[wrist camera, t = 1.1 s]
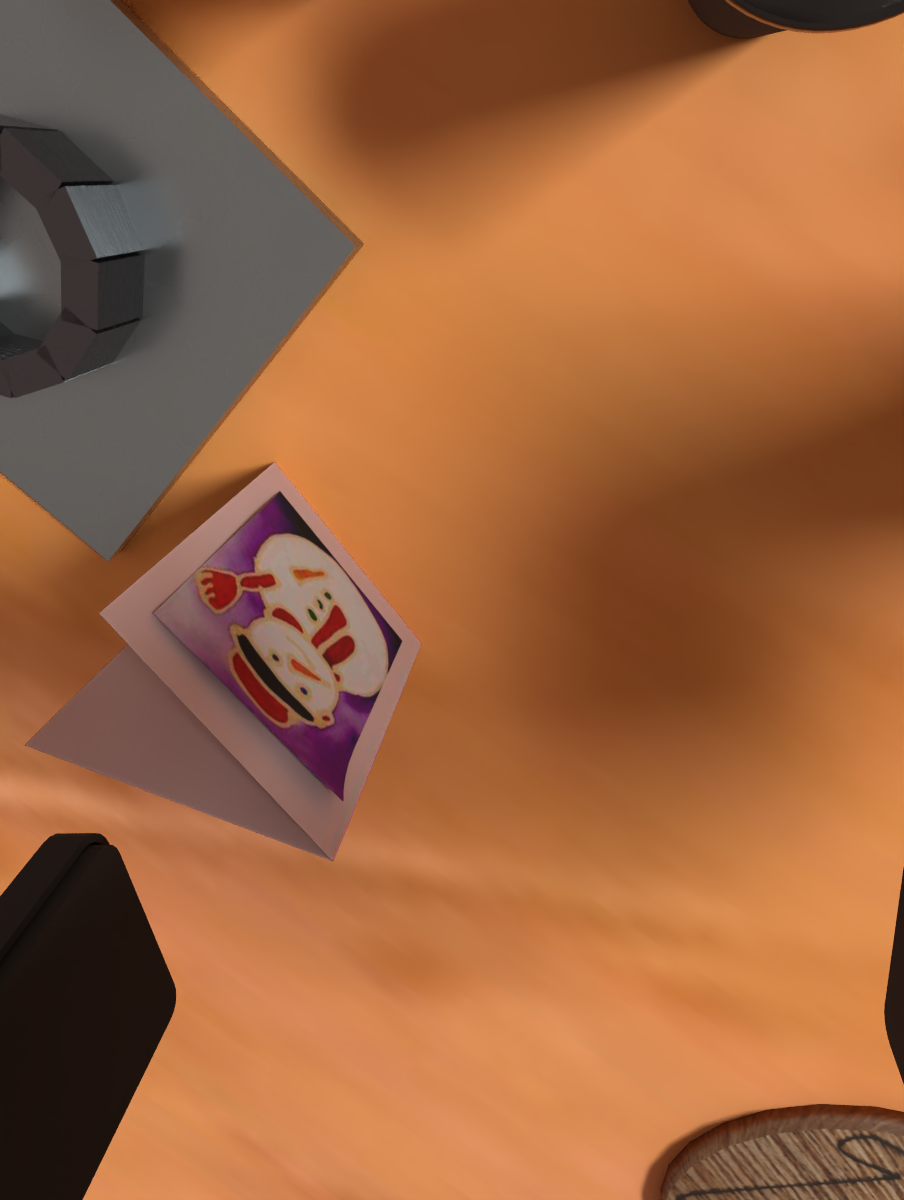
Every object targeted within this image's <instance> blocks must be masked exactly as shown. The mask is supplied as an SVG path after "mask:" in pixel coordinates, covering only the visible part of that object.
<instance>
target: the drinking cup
mask: <svg viewBox="0 0 904 1200" xmlns="http://www.w3.org/2000/svg"><path fill="white" fill-rule="evenodd" d="M689 3H690V4H691V6H692V8H693V10H694V11H695V13H696V14H697V15H698V17H699V18H700V19H701V20H702V21H703V22H704V23H705V24H706V25H707V26H709V27H710V28H711V29H713V30H715V31H717V32H719V33H721V34H723V35H726V36H730V37H735V38H752V37H758V36H763V35H767V34H772V33H776V32H781V31H785V30H790V31H795V32H805V33H835V32H842V31H850V30H855V29H859V28H863V27H867V26H871V25H874V24H877V23H880V22H883V21H886V20H888V19H891V18H894V17H896V16H898V15H900V14H902V13H904V0H689Z"/></svg>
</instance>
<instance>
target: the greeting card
mask: <svg viewBox="0 0 904 1200" xmlns="http://www.w3.org/2000/svg"><path fill="white" fill-rule="evenodd" d="M99 614H100V615H101V616H102V617H103V618H104V619H105V620H106V621H107V622H108V623H109V625H110V626H111V627H112V628H113V629H114V630H115V631H116V632H117V633H118V634H119V635H120V636H121V637H122V638H123V639H124V640H125V641H126V643H127V645H126V646H125V647H124V648H123V649H122V650H121V651H120V652H119V653H118V654H117V655H116V656H115V657H114V658H113V659H112V660H111V661H110V662H109V663H108V664H107V665H106V666H105V667H104V668H103V669H102V670H101V671H100V672H99V673H98V674H97V675H96V676H95V677H94V678H93V679H92V680H91V681H90V682H89V683H87V684H86V685H85V686H84V687H83V688H82V689H81V690H80V691H79V692H78V693H77V694H76V695H75V696H74V697H73V698H72V699H71V700H70V701H69V702H68V703H67V704H66V705H65V706H64V707H63V708H62V709H61V710H60V711H59V712H58V713H57V714H56V715H55V716H54V717H53V718H52V719H51V720H50V721H49V722H48V723H47V724H46V725H44V726H43V727H42V728H41V729H40V730H39V731H38V732H37V733H36V734H35V735H34V736H33V737H32V738H31V739H30V740H29V741H28V742H27V743H26V744H25V746H28V747H31V748H33V749H36V750H39V751H41V752H44V753H47V754H49V755H52V756H55V757H57V758H60V759H63V760H65V761H68V762H71V763H73V764H76V765H79V766H81V767H84V768H87V769H89V770H92V771H94V772H97V773H100V774H102V775H105V776H108V777H110V778H113V779H116V780H118V781H121V782H124V783H126V784H129V785H132V786H134V787H137V788H140V789H142V790H145V791H148V792H150V793H153V794H156V795H158V796H161V797H163V798H166V799H169V800H171V801H174V802H177V803H179V804H182V805H185V806H187V807H190V808H193V809H195V810H198V811H201V812H203V813H206V814H209V815H211V816H214V817H217V818H219V819H222V820H224V821H227V822H230V823H232V824H235V825H238V826H240V827H243V828H246V829H248V830H251V831H254V832H256V833H259V834H262V835H264V836H267V837H270V838H272V839H275V840H278V841H280V842H283V843H286V844H288V845H291V846H293V847H296V848H299V849H301V850H304V851H307V852H309V853H312V854H315V855H317V856H320V857H323V858H325V859H328V860H331V861H334V858H335V856H336V853H337V851H338V848H339V846H340V844H341V841H342V839H343V836H344V834H345V831H346V829H347V826H348V824H349V821H350V819H351V816H352V814H353V811H354V809H355V807H356V804H357V802H358V799H359V797H360V794H361V792H362V789H363V787H364V784H365V782H366V779H367V777H368V774H369V772H370V769H371V767H372V765H373V762H374V760H375V757H376V755H377V752H378V750H379V747H380V745H381V742H382V740H383V737H384V735H385V732H386V730H387V727H388V725H389V723H390V720H391V718H392V715H393V713H394V710H395V708H396V705H397V703H398V700H399V698H400V695H401V693H402V690H403V688H404V685H405V683H406V681H407V678H408V676H409V673H410V671H411V668H412V666H413V663H414V661H415V658H416V656H417V653H418V651H419V648H420V646H421V642H420V641H419V640H418V639H417V637H416V636H415V635H414V634H413V632H412V631H411V630H410V629H409V627H408V626H407V625H406V624H405V622H404V621H403V620H402V619H401V618H400V616H399V615H398V614H397V613H396V611H395V610H394V609H393V608H392V606H391V605H390V604H389V603H388V601H387V600H386V599H385V598H384V596H383V595H382V594H381V593H380V592H379V590H378V589H377V588H376V587H375V585H374V584H373V583H372V582H371V580H370V579H369V578H368V577H367V575H366V574H365V573H364V572H363V571H362V569H361V568H360V567H359V566H358V564H357V563H356V562H355V561H354V559H353V558H352V557H351V556H350V554H349V553H348V552H347V551H346V550H345V548H344V547H343V546H342V545H341V543H340V542H339V541H338V540H337V538H336V537H335V536H334V535H333V533H332V532H331V531H330V530H329V529H328V527H327V526H326V525H325V524H324V522H323V521H322V520H321V519H320V517H319V516H318V515H317V514H316V512H315V511H314V510H313V509H312V507H311V506H310V505H309V504H308V503H307V501H306V500H305V499H304V498H303V496H302V495H301V494H300V493H299V491H298V490H297V489H296V488H295V486H294V485H293V484H292V483H291V482H290V480H289V479H288V478H287V477H286V475H285V474H284V473H283V472H282V470H281V469H280V468H279V467H278V465H277V464H276V463H275V462H274V463H273V464H272V465H270V466H269V467H268V468H267V469H266V470H265V471H263V472H262V473H261V474H260V475H259V476H258V477H256V478H255V479H254V480H253V481H252V482H251V483H249V484H248V485H247V486H246V487H245V488H244V489H243V490H241V491H240V492H239V493H238V494H237V495H236V496H234V497H233V498H232V499H231V500H230V501H229V502H227V503H226V504H225V505H224V506H223V507H222V508H220V509H219V510H218V511H217V512H216V513H215V514H213V515H212V516H211V517H210V518H209V519H208V520H207V521H205V522H204V523H203V524H202V525H201V526H200V527H198V528H197V529H196V530H195V531H194V532H193V533H191V534H190V535H189V536H188V537H187V538H186V539H184V540H183V541H182V542H181V543H180V544H179V545H177V546H176V547H175V548H174V549H173V550H172V551H171V552H169V553H168V554H167V555H166V556H165V557H164V558H162V559H161V560H160V561H159V562H158V563H157V564H155V565H154V566H153V567H152V568H151V569H150V570H148V571H147V572H146V573H145V574H144V575H143V576H141V577H140V578H139V579H138V580H137V581H136V582H135V583H133V584H132V585H131V586H130V587H129V588H128V589H126V590H125V591H124V592H123V593H122V594H121V595H119V596H118V597H117V598H116V599H115V600H114V601H112V602H111V603H110V604H109V605H108V606H107V607H105V608H104V609H103V610H102V611H101V612H100V613H99Z"/></svg>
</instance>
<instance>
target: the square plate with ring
mask: <svg viewBox="0 0 904 1200" xmlns="http://www.w3.org/2000/svg"><path fill="white" fill-rule="evenodd" d="M362 246H363V243H362V242H361V241H360V240H359V239H358V238H357V237H356V236H355V235H354V234H353V233H352V232H351V231H350V230H349V229H348V228H347V227H346V226H345V225H344V224H343V223H342V222H341V221H340V220H339V219H338V218H337V217H336V216H335V215H334V214H333V213H332V212H331V211H330V210H329V209H328V208H327V207H326V206H325V205H324V204H323V203H322V202H321V200H320V199H319V198H318V197H317V196H316V195H315V194H314V193H313V192H312V191H311V190H310V189H309V188H308V187H307V186H306V185H305V184H304V183H303V182H302V181H301V180H300V179H299V178H298V177H297V176H296V175H295V174H294V173H293V172H292V171H291V170H290V169H289V168H288V167H287V166H286V165H285V164H284V163H283V162H282V161H281V160H280V159H279V158H278V157H277V156H276V155H275V154H274V153H273V152H272V151H271V150H270V149H269V148H268V147H267V146H266V145H265V144H264V143H263V142H262V141H261V140H260V139H259V138H258V137H257V136H256V135H255V134H254V133H253V132H252V131H251V130H250V129H249V128H248V127H247V126H246V125H245V124H244V123H243V122H242V121H241V120H240V119H239V118H238V117H237V116H236V115H235V114H234V113H233V112H232V111H231V110H230V109H229V108H228V107H227V106H226V105H225V104H224V103H223V102H222V101H221V100H220V99H219V98H218V97H217V96H216V95H215V94H214V93H213V92H212V91H211V90H210V89H209V88H208V87H207V86H206V85H205V84H204V83H203V82H202V81H201V80H200V79H199V78H198V77H197V76H196V75H195V74H194V73H193V72H192V71H191V70H190V69H189V68H188V67H187V66H186V65H185V64H184V63H183V62H182V61H181V60H180V59H179V58H178V57H177V56H176V55H175V54H174V53H173V52H172V51H171V50H170V49H169V48H168V47H167V46H166V45H165V44H164V43H163V42H162V41H161V40H160V39H159V38H158V37H157V36H156V35H155V34H154V33H153V32H152V31H151V30H150V29H149V28H148V27H147V26H146V25H145V24H144V23H143V22H142V21H141V20H140V19H139V18H138V17H137V16H136V15H135V14H134V13H133V12H132V11H131V10H130V9H129V7H128V6H127V5H126V4H125V3H124V2H123V1H122V0H0V472H1V473H2V474H3V475H5V476H6V477H7V478H8V479H9V480H11V481H12V482H13V483H14V484H16V485H17V486H18V487H19V488H20V489H22V490H23V491H24V492H25V493H26V494H28V495H29V496H30V497H31V498H32V499H34V500H35V501H36V502H37V503H38V504H40V505H41V506H42V507H43V508H44V509H46V510H47V511H48V512H49V513H50V514H52V515H53V516H54V517H55V518H56V519H58V520H59V521H60V522H61V523H63V524H64V525H65V526H66V527H67V528H69V529H70V530H71V531H72V532H73V533H75V534H76V535H77V536H78V537H79V538H81V539H82V540H83V541H84V542H85V543H87V544H88V545H89V546H90V547H91V548H93V549H94V550H95V551H96V552H97V553H99V554H100V555H101V556H102V557H104V558H105V559H106V560H107V561H109V560H111V559H112V558H113V557H114V556H116V555H117V554H118V553H120V552H121V551H122V549H123V548H124V547H125V546H126V544H127V543H128V542H129V541H130V539H131V538H132V537H133V536H134V534H135V533H136V532H137V530H138V529H139V528H140V527H141V525H142V524H143V523H144V522H145V520H146V519H147V518H148V517H149V515H150V514H151V513H152V511H153V510H154V509H155V508H156V506H157V505H158V504H159V503H160V501H161V500H162V499H163V498H164V496H165V495H166V494H167V492H168V491H169V490H170V489H171V487H172V486H173V485H174V484H175V482H176V481H177V480H178V479H179V477H180V476H181V475H182V473H183V472H184V471H185V470H186V468H187V467H188V466H189V465H190V463H191V462H192V461H193V460H194V458H195V457H196V456H197V454H198V453H199V452H200V451H201V449H202V448H203V447H204V446H205V444H206V443H207V442H208V441H209V439H210V438H211V437H212V436H213V434H214V433H215V432H216V430H217V429H218V428H219V427H220V425H221V424H222V423H223V422H224V420H225V419H226V418H227V417H228V415H229V414H230V413H231V411H232V410H233V409H234V408H235V406H236V405H237V404H238V403H239V401H240V400H241V399H242V398H243V396H244V395H245V394H246V392H247V391H248V390H249V389H250V387H251V386H252V385H253V384H254V382H255V381H256V380H257V379H258V377H259V376H260V375H261V373H262V372H263V371H264V370H265V368H266V367H267V366H268V365H269V363H270V362H271V361H272V360H273V358H274V357H275V356H276V354H277V353H278V352H279V351H280V349H281V348H282V347H283V346H284V344H285V343H286V342H287V341H288V339H289V338H290V337H291V335H292V334H293V333H294V332H295V330H296V329H297V328H298V327H299V325H300V324H301V323H302V322H303V320H304V319H305V318H306V317H307V315H308V314H309V313H310V311H311V310H312V309H313V308H314V306H315V305H316V304H317V303H318V301H319V300H320V299H321V298H322V296H323V295H324V294H325V292H326V291H327V290H328V289H329V287H330V286H331V285H332V284H333V282H334V281H335V280H336V279H337V277H338V276H339V275H340V273H341V272H342V271H343V270H344V268H345V267H346V266H347V265H348V263H349V262H350V261H351V260H352V258H353V257H354V256H355V254H356V253H357V252H358V251H359V249H360V248H361V247H362Z"/></svg>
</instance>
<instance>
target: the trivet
mask: <svg viewBox="0 0 904 1200" xmlns="http://www.w3.org/2000/svg"><path fill="white" fill-rule="evenodd" d="M661 1200H904V1112H900V1111H895V1110H890V1109H885V1108H880V1107H872V1106H851V1105H830V1104H816V1105H807V1106H797V1107H788V1108H779V1109H770V1110H765V1111H762V1112H759V1113H755V1114H752V1115H748V1116H745V1117H742V1118H738V1119H735V1120H731V1121H728V1122H725V1123H723V1124H721V1125H719V1126H717V1127H715V1128H714V1129H712V1130H710V1131H708V1132H707V1133H705V1134H703V1135H701V1136H699V1137H698V1138H696V1139H694V1140H692V1141H691V1142H690V1143H689V1144H688V1145H687V1146H686V1147H685V1148H684V1149H683V1150H682V1151H681V1152H680V1153H679V1154H678V1156H677V1157H676V1158H675V1159H674V1160H673V1161H672V1162H671V1163H670V1164H669V1167H668V1170H667V1173H666V1176H665V1178H664V1181H663V1184H662V1187H661Z"/></svg>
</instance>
